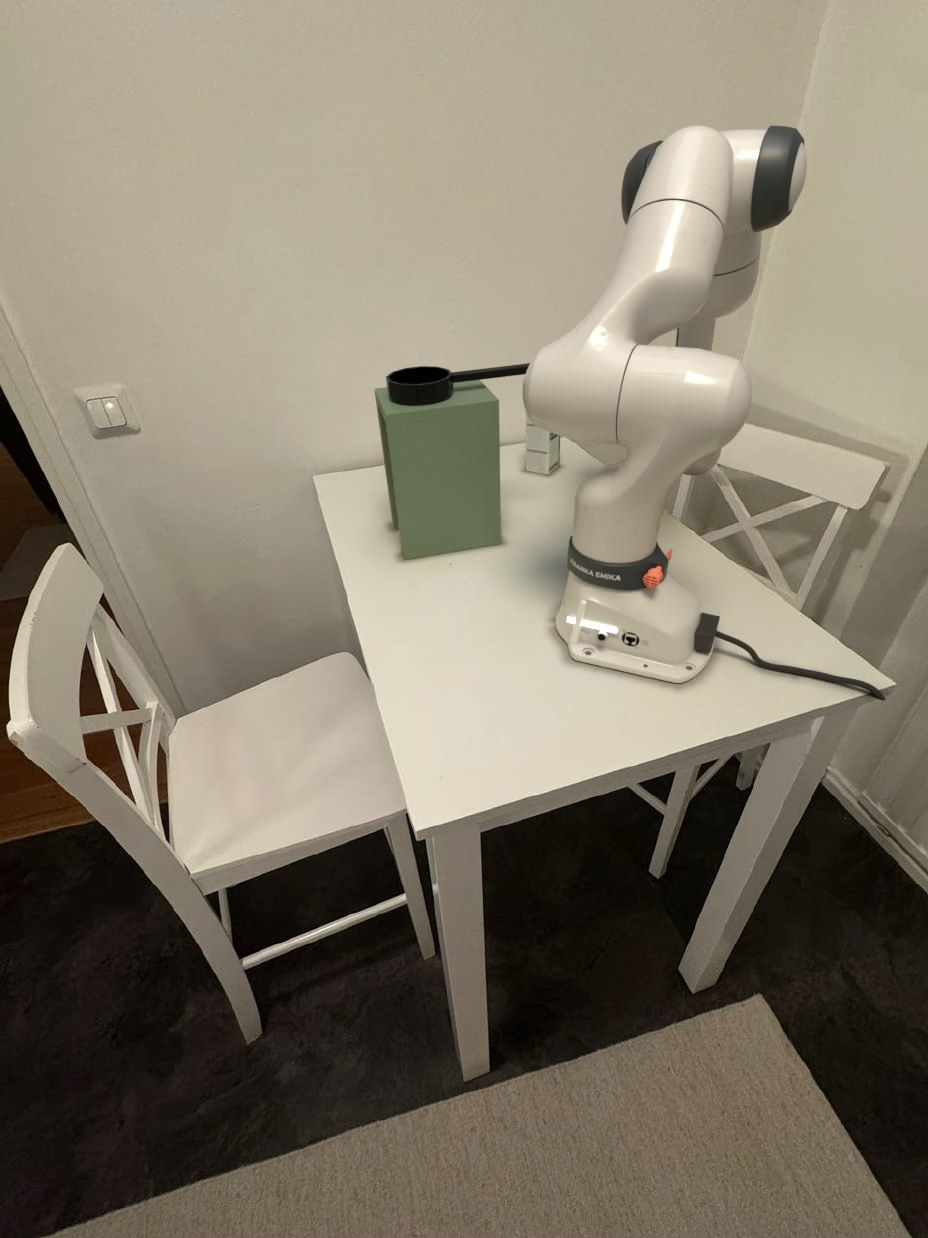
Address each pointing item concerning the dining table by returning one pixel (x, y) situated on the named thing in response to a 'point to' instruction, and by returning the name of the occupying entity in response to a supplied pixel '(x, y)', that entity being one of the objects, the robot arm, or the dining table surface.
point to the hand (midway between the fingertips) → (588, 398)
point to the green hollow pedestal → (443, 470)
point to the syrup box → (541, 449)
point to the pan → (438, 382)
